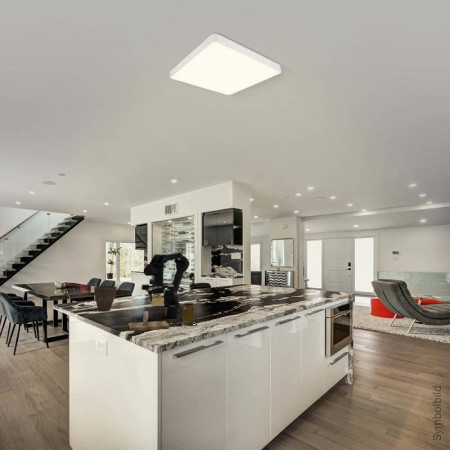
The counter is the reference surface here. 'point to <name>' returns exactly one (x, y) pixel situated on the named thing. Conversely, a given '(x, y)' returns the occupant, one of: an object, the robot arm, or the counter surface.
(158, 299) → the open wall cube
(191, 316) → the condiment
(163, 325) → the board
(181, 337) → the counter surface
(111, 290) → the plant pot
